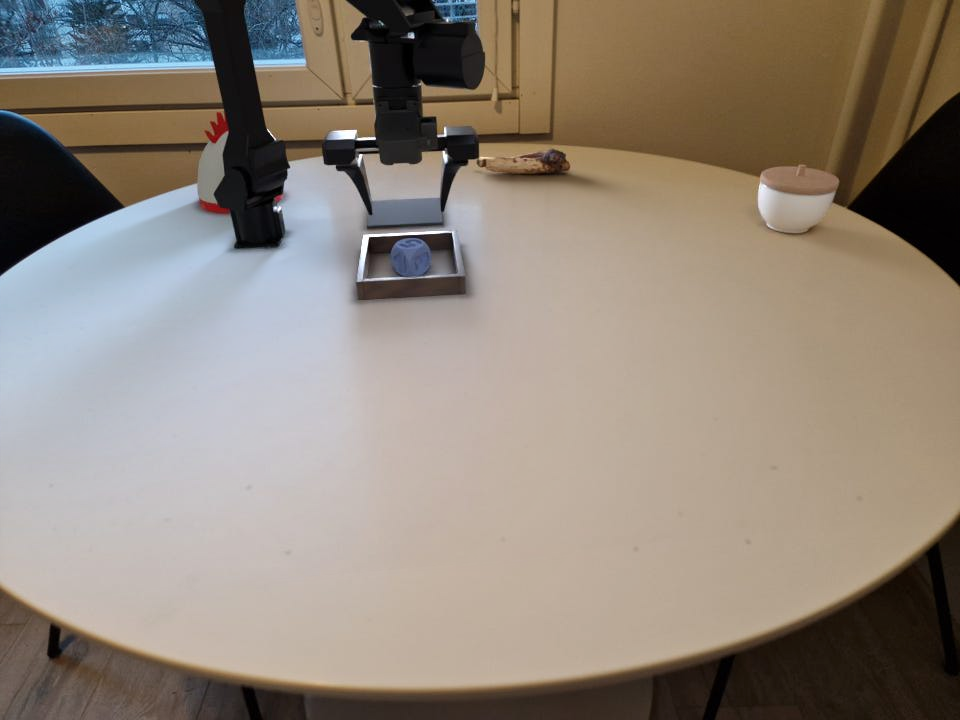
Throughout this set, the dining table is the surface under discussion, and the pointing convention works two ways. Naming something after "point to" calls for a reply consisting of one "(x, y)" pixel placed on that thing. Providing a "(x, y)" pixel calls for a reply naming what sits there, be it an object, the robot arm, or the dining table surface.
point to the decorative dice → (411, 257)
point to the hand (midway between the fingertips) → (406, 212)
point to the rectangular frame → (415, 283)
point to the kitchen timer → (213, 166)
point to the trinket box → (795, 197)
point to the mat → (405, 213)
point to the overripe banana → (528, 163)
